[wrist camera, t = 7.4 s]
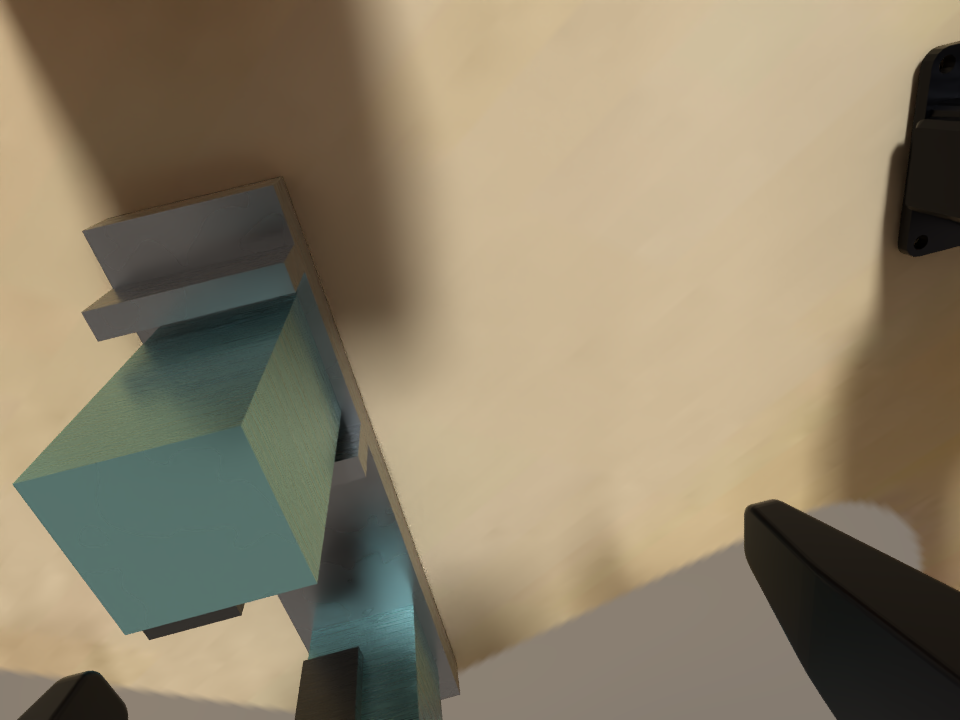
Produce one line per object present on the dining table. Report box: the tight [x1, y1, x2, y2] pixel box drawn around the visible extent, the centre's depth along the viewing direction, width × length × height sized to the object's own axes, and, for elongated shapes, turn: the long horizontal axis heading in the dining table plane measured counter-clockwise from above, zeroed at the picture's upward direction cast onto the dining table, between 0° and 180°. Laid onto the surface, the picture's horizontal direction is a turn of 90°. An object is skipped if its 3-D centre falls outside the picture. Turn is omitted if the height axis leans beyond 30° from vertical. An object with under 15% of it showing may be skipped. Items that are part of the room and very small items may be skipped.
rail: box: [81, 177, 460, 720], centre depth 17 cm, size 5×22×8 cm, turn 12°
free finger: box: [13, 294, 341, 640], centre depth 14 cm, size 4×5×7 cm
